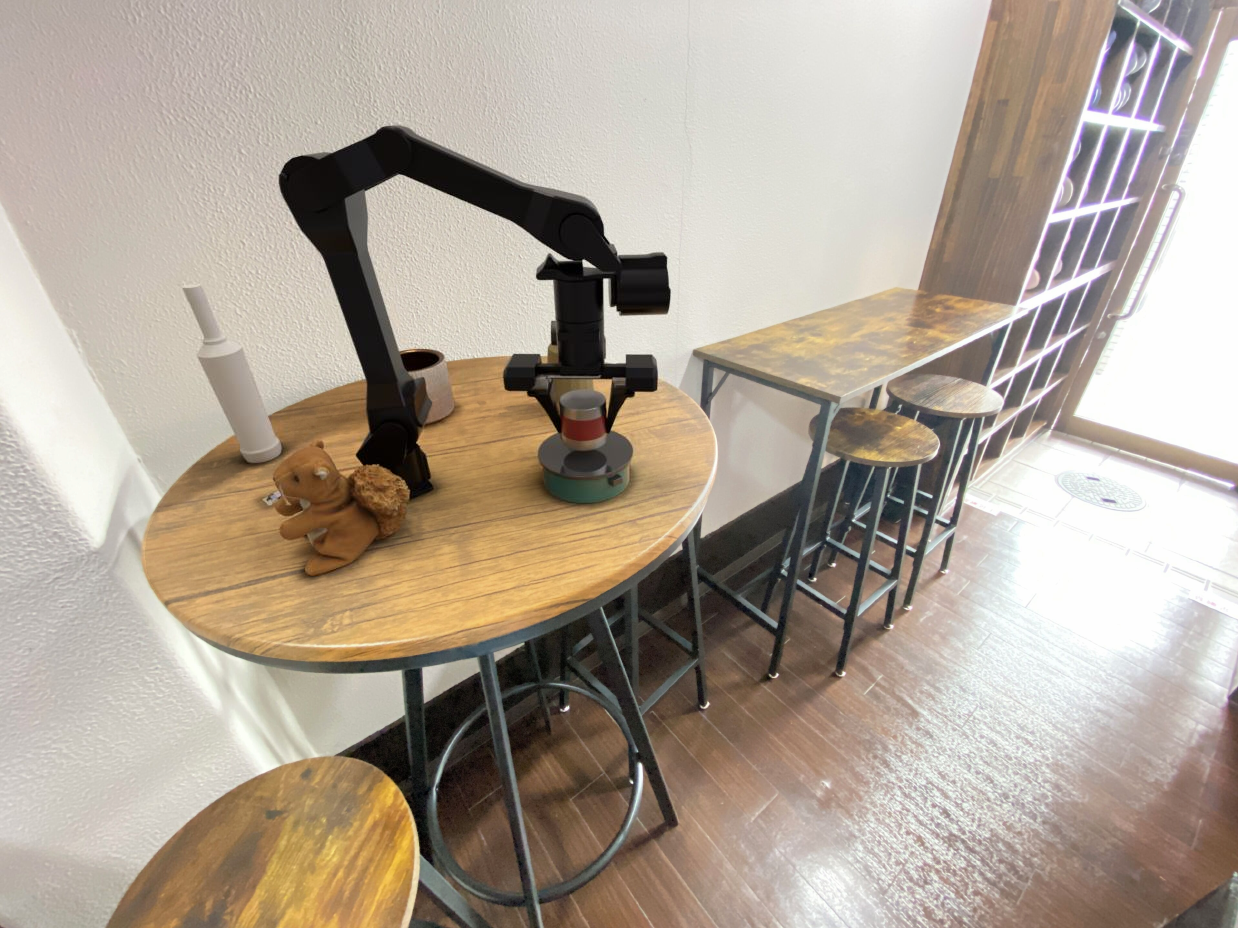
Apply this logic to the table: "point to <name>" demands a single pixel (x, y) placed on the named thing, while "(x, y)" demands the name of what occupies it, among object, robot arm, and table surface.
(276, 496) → the granola bar
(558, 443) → the round lidded tin
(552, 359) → the squeeze bottle
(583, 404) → the can
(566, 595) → the table surface
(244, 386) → the bottle
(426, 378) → the planter
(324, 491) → the stuffed squirrel
